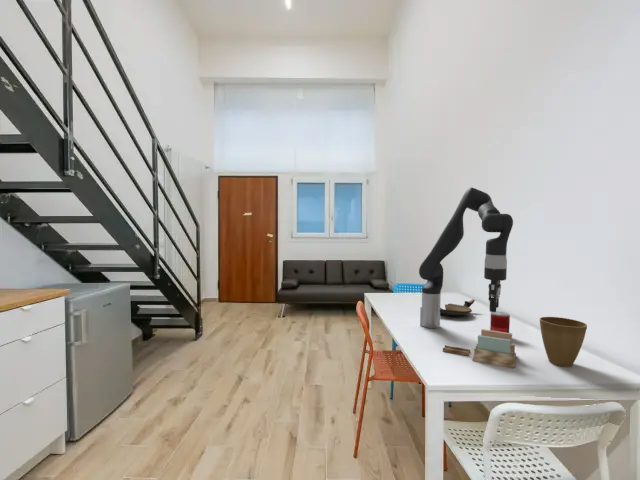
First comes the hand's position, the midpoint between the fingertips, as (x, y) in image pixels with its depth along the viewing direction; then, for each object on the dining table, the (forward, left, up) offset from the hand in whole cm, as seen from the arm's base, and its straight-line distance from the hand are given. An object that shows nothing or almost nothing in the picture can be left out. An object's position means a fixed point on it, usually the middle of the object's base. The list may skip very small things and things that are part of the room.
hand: (494, 309), depth 136 cm
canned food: (-1, +38, -20) cm, 43 cm away
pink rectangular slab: (0, +9, -19) cm, 21 cm away
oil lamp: (-27, +71, -20) cm, 78 cm away
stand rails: (-14, +4, -20) cm, 24 cm away
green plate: (0, 0, -19) cm, 19 cm away
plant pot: (+22, +13, -20) cm, 33 cm away
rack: (0, +5, -20) cm, 21 cm away
